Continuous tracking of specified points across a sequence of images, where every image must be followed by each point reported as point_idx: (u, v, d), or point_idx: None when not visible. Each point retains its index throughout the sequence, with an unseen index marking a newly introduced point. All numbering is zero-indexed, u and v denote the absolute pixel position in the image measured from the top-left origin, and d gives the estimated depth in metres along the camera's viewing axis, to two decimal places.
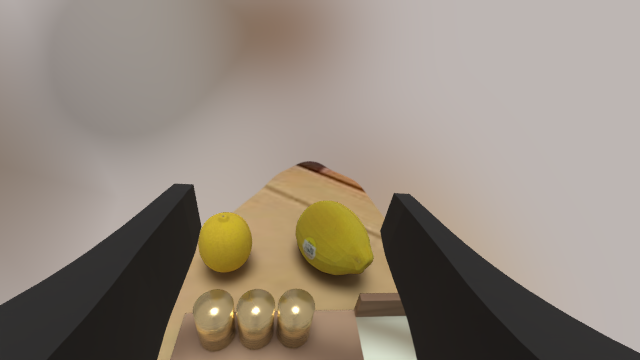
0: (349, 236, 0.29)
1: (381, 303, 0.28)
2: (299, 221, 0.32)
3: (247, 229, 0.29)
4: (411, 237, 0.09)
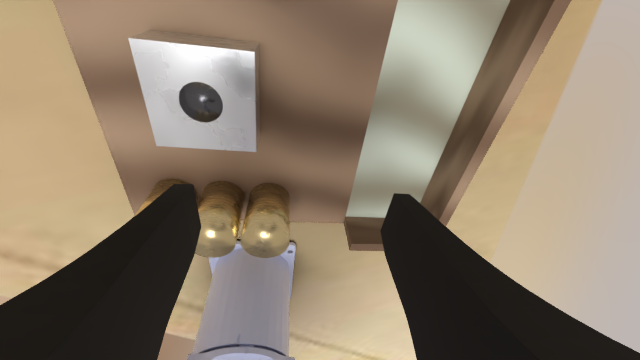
0: None
1: None
2: None
3: None
4: (411, 237, 0.09)
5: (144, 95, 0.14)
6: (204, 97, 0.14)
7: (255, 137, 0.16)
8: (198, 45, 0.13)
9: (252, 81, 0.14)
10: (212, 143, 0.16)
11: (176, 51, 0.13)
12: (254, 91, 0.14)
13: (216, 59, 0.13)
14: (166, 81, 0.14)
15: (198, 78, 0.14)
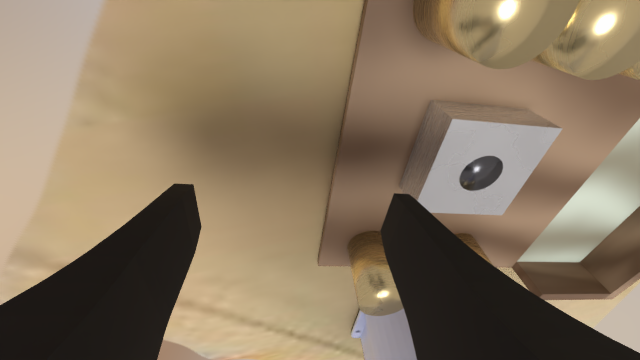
0: None
1: None
2: None
3: None
4: (411, 237, 0.09)
5: (429, 167, 0.14)
6: (487, 169, 0.14)
7: (509, 202, 0.16)
8: (512, 123, 0.13)
9: (542, 153, 0.14)
10: (466, 208, 0.16)
11: (490, 129, 0.13)
12: (537, 162, 0.14)
13: (522, 135, 0.13)
14: (461, 156, 0.13)
15: (494, 152, 0.13)
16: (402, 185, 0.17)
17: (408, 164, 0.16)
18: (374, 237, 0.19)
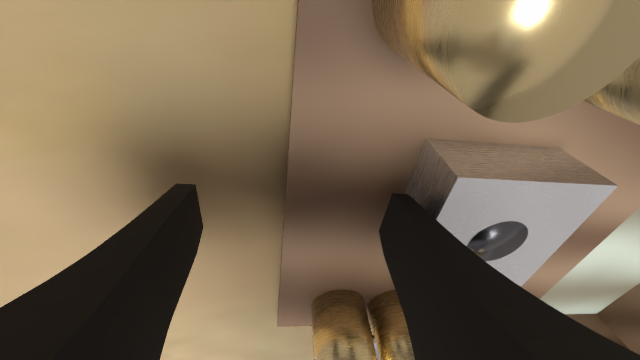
0: None
1: None
2: None
3: None
4: (409, 237, 0.09)
5: None
6: (505, 236, 0.10)
7: (532, 271, 0.12)
8: (546, 180, 0.09)
9: (584, 217, 0.10)
10: None
11: (513, 189, 0.09)
12: (575, 227, 0.10)
13: (558, 195, 0.09)
14: (470, 222, 0.09)
15: (516, 217, 0.09)
16: None
17: None
18: (342, 300, 0.15)
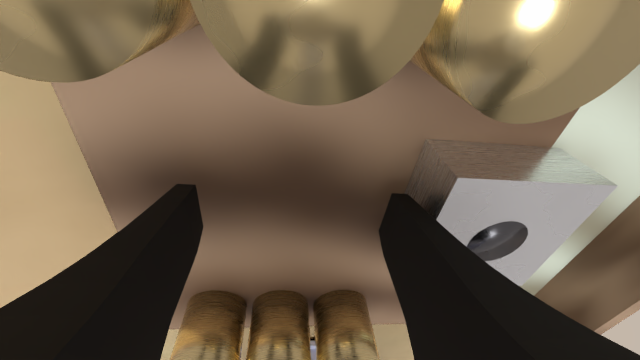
0: None
1: None
2: None
3: None
4: (409, 237, 0.09)
5: None
6: (505, 236, 0.10)
7: (532, 271, 0.12)
8: (545, 180, 0.09)
9: (584, 217, 0.10)
10: None
11: (513, 189, 0.09)
12: (575, 227, 0.10)
13: (558, 195, 0.09)
14: (469, 223, 0.09)
15: (516, 217, 0.09)
16: None
17: None
18: (211, 301, 0.14)
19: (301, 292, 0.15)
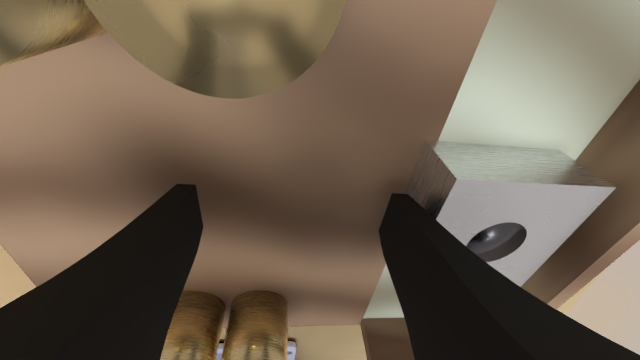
0: None
1: None
2: None
3: None
4: (409, 237, 0.09)
5: None
6: (504, 237, 0.10)
7: (531, 272, 0.12)
8: (544, 182, 0.09)
9: (582, 218, 0.10)
10: None
11: (512, 190, 0.09)
12: (574, 228, 0.10)
13: (557, 197, 0.09)
14: (468, 224, 0.09)
15: (515, 218, 0.09)
16: None
17: None
18: None
19: (213, 293, 0.15)
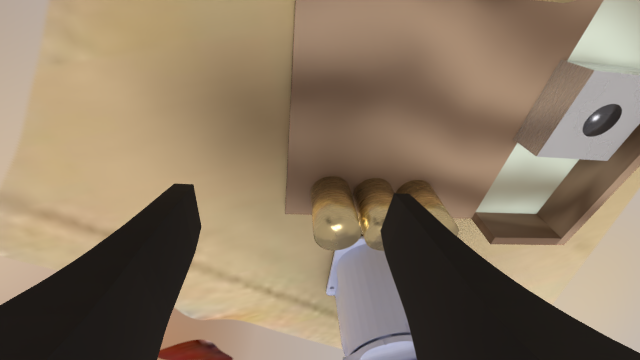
0: None
1: None
2: None
3: None
4: (411, 237, 0.09)
5: (561, 115, 0.17)
6: (608, 116, 0.17)
7: (616, 148, 0.19)
8: (638, 75, 0.16)
9: None
10: (580, 153, 0.19)
11: (621, 79, 0.16)
12: None
13: None
14: (591, 104, 0.16)
15: (617, 101, 0.16)
16: (518, 138, 0.20)
17: (527, 118, 0.19)
18: (333, 181, 0.20)
19: (389, 181, 0.22)
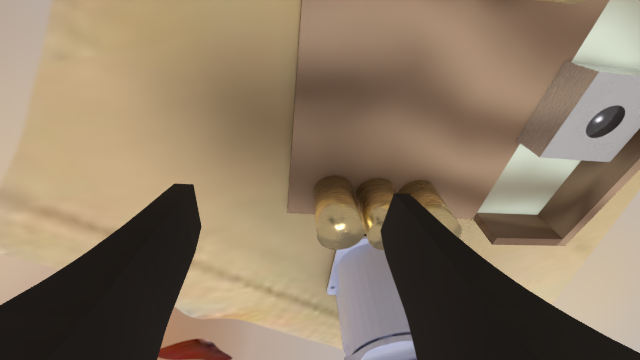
0: None
1: None
2: None
3: None
4: (411, 237, 0.09)
5: (565, 116, 0.17)
6: (611, 117, 0.17)
7: (618, 150, 0.19)
8: None
9: None
10: (583, 155, 0.19)
11: (625, 81, 0.16)
12: None
13: None
14: (595, 105, 0.16)
15: (621, 102, 0.16)
16: (521, 139, 0.20)
17: (531, 119, 0.19)
18: (336, 180, 0.20)
19: (392, 180, 0.22)
